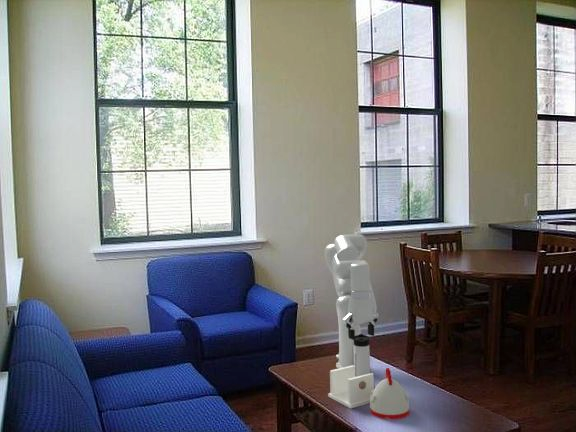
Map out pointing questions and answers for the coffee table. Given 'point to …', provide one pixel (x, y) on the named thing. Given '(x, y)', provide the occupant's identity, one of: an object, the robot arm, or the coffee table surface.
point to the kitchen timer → (389, 399)
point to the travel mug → (361, 355)
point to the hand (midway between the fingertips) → (361, 337)
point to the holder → (350, 387)
